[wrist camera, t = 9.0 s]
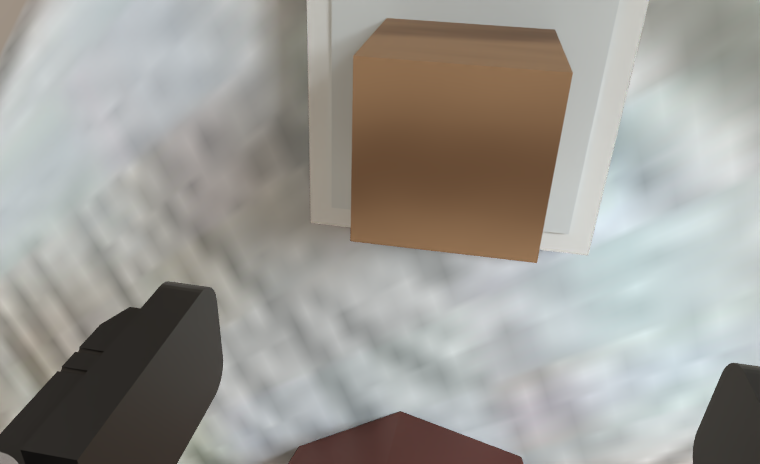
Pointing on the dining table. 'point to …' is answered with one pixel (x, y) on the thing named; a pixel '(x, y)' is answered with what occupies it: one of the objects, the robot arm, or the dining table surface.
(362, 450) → the bucket
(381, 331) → the dining table surface
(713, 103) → the dining table surface
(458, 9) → the tray
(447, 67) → the walnut cube
